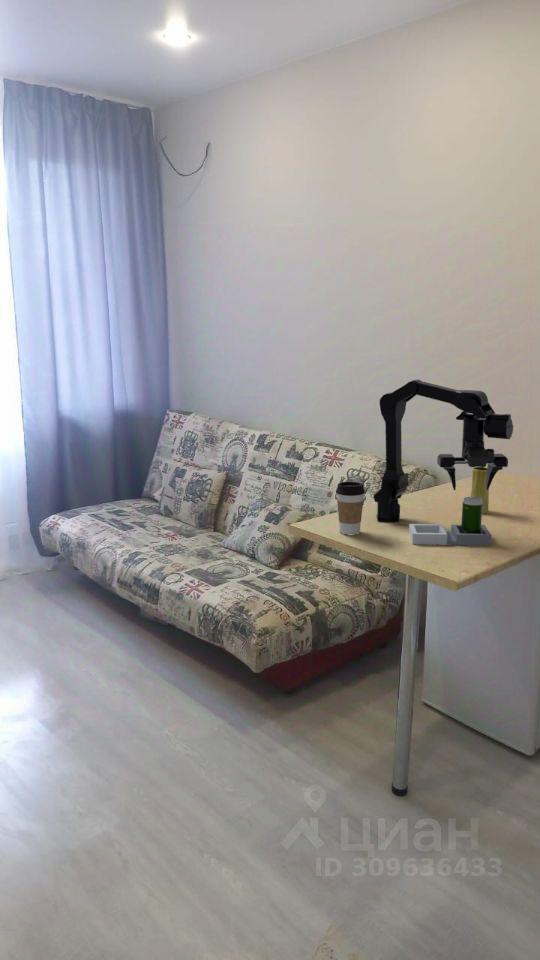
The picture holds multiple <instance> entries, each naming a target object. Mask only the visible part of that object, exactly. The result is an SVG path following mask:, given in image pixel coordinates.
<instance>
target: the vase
mask: <svg viewBox="0 0 540 960" xmlns="http://www.w3.org/2000/svg"><path fill="white" fill-rule="evenodd" d="M471 474H472V477H471V491H470V497H477V498H481V499H482V515H485V514H488V513H489V505H490V502H489V501H490V499H489V497H490V496H489V495H490V488H489V489H488V490H486V477H487V466H486V467H472V473H471Z"/></svg>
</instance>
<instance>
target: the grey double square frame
mask: <svg viewBox="0 0 540 960" xmlns="http://www.w3.org/2000/svg"><path fill="white" fill-rule="evenodd" d="M408 526H409V529H408V534H409V538H410V540H411V543H412V545H432V544H434V545H435V544H439V545H440V546H442V545H443V546H447V545H448V546H492V534H491V532H490V531H489V529H488V528H487V527H486V525H485V524H481V534H467V533H461V524H451V525H450V530H446V529H445V527H444V525H443V524H441V523H440V524H436V523H434V524H433V523H430V524H429V523H409V525H408ZM434 545H433V546H434ZM435 546H436V545H435Z"/></svg>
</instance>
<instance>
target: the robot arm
mask: <svg viewBox="0 0 540 960" xmlns="http://www.w3.org/2000/svg"><path fill="white" fill-rule="evenodd" d="M416 396H420V397H424V398H429V399H432V400H436V401H439V402H444V403H447V404H450V405H452V406H454V407H455V408H457V409H459V410H460V411H461V413H459V415H457V416H455V420H457V421H458V420H459V421H463V423H462V425H463V426H462V440H461V442H462V445H461V450H462V451H461V456H456V457H455V456H454V455H453V453H439V454H438V455H437V458H436V459H437V461H436V464H437V466H438V467H440V468H442V469H443V470H444V471H446V472H447V474H448V477H449V480H450V482H451V486H452V489H453V491H456V490H457V489H456V487H457V485H456V484H457V482H456V468H455V465H457V464H458V465H459V464H460V465H461V464H462V465H463V464H465V465H466V464H467V465H468V467H469V468H474V467H486V468H487V477H486V490H488V489H489V490H490V487H491V484H492V482H493V480H494V477H495V476H496V474H497V473H498V471H503V468H507V467H509V460H508V458H507V456H505V455H504V454H503V453H495V450H494V448H485V441H484V438H485V436H486V437H487V438H490V439H500V440H502V439H503V440H510V439H511V438H512V436H513V433H514V423H513V420H512V415H511V413H504V414H503V413H502V414H501V413H500V414H499V413H496V412H495V409H493V408H492V405H491V404H490V402H489V398H488V396H487V394H486V392H484V391H482V390H472V389H471V390H469V389H454V388H451V387H446V386H442V385H438V384H434V383H431V382H426V381H422V380H420V379H414V380H410V381H408V382H407V383H405V384H404V385H402V386H401V387H399V388H397V389H395V390H394V391H391V392H388V393H385V394H383V395H382V396H381V397H380V398H379V408H380V415H381V416H382V419H383V421H384V424H385V425H384V426H385V470H384V473H383V476H382V479H381V485H380V489H379V490H378V491H377V492H375V493H374V494H373V499H374V502H375V503H377V505H376V506H377V507H376V520H377V522H380V523H381V522H384V523H385V522H389V523H390V522H392V523H394V522H395V523H397V522H398V523H399V522H400V521H399V520H400V518H401V505H400V503H399V499H401V498H402V495H403V494H405V492H407V489H408V487H409V486H410V483H409V477H410V475H409V472H404V470H403V468H402V467H403V466H402V465H403V464H402V421H403V418H404V415H405V413H406V408H407V403H408V402H409V401H411V400H413V398H415V397H416Z"/></svg>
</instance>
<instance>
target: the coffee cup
mask: <svg viewBox="0 0 540 960" xmlns="http://www.w3.org/2000/svg"><path fill="white" fill-rule="evenodd" d="M335 493H336V494H337V498H336V503H337V505H336V506H337V514H338V526H339V528H338V529H339V533H340V532H341V533H344V534H357V533H359V532H360V533H361V526H362V525H361V524H362V517H363V507H364V494H365V493H366V491H365V486H364V484H363V483H362V482H361V483H360V482H356V481H343V482H339V483H337V486H336V491H335ZM341 533H340V534H341ZM360 533H359V534H360ZM357 535H358V534H357Z"/></svg>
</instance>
